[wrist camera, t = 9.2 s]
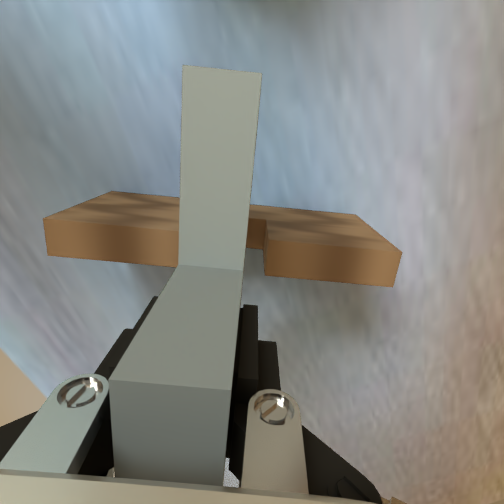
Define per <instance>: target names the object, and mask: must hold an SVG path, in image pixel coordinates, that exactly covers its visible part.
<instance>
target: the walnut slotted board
mask: <svg viewBox="0 0 504 504" xmlns="http://www.w3.org/2000/svg"><path fill="white" fill-rule="evenodd" d="M179 210H180V198H178V197H167V196H157V195H147V194H136V193H126V192H116V191H111V192H108V193H106V194H103V195H101V196H98V197H96V198H93V199H91V200H88V201H86V202H83V203H81V204H78V205H76V206H73V207H71V208H68V209H65V210H63V211H60V212H58V213H55V214H53V215H50V216H48V217H45V218H43V222H44V230H45V238H46V246H47V254H48V256H58V257H69V258H80V259H91V260H102V261H113V262H124V263H135V264H146V265H157V266H167V267H177V266H178V257H179ZM246 248H254V249H263V258H264V273H265V275H266V276H276V277H287V278H298V279H309V280H320V281H331V282H342V283H353V284H364V285H375V286H386V287H393V285H394V281H395V278H396V274H397V270H398V266H399V263H400V259H401V255H402V252H401V251H400V250H399V249H398V248H396V247H395V246H394V245H393V244H391V243H390V242H389V241H388V240H386V239H385V238H384V237H383V236H381V235H380V234H379V233H378V232H376V231H375V230H374V229H373V228H372V227H370V226H369V225H368V224H367V223H365V222H364V221H363V220H362V219H360V218H359V217H358V216H357V215H354V214H343V213H333V212H323V211H312V210H302V209H292V208H281V207H271V206H261V205H250V209H249V219H248V228H247V239H246Z"/></svg>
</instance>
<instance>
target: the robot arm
mask: <svg viewBox="0 0 504 504" xmlns="http://www.w3.org/2000/svg"><path fill="white" fill-rule="evenodd" d="M157 299H158V296H154V297H153V298H152V300H151V302H150V303H149V305H148V306H147V308H146V309H145V311H144V313H143V314H142V316H141V317H140V319H139V320H138V322H137V323H136V325H135V327H134V328H133V329H125V330H124V331H123V332H122V333H121V335H120V336H119V338H118V339H117V341H116V342H115V344H114V345H113V347H112V348H111V349H110V351H109V352H108V354H107V355H106V357H105V358H104V360H103V361H102V363H101V364H100V366H99V367H98V368H97V370H96V371H95V373H94V374H81V375H77V376H74V377H71V378H69V379H67V380H65V381H64V382H62V383H61V384H59V385H58V386H57V387H56V388H55V389H54V390H53V392H52V393H51V394H50V396H49V397H48V399H47V400H46V401H45V403H44V404H43V405H42V407H41V408H40V409H39V410H38V411H36V412H34V413H32V414H29V415H27V416H24V417H22V418H20V419H18V420H15V421H13V422H11V423H8V424H6V425H4V426H1V427H0V504H406V503H404V502H402V501H400V500H398V499H396V498H394V497H391V500H390V501H389V500H387V499H385V498H383V497H381V496H380V494H379V493H378V491H377V490H376V488H375V486H374V485H373V484H372V483H371V482H370V481H369V480H368V479H367V478H366V477H365V476H364V475H362V474H361V473H360V472H359V471H357V470H356V469H355V468H354V467H353V466H351V465H350V464H349V463H348V462H346V461H345V460H344V459H343V458H342V457H340V456H339V455H338V454H337V453H336V452H334V451H333V450H332V449H331V448H329V447H328V446H327V445H326V444H325V443H323V442H322V441H321V440H320V439H318V438H317V437H316V436H315V435H314V434H312V433H311V432H310V431H309V430H308V429H306V428H305V427H304V426H303V425H301V416H300V410H299V406H298V404H297V403H296V401H295V400H294V399H293V398H292V397H291V396H290V395H288V394H287V393H285V392H282V391H281V388H280V377H279V367H278V356H277V345H276V342H271V341H260V340H258V306H256V305H245V304H244V305H243V308H240V310H239V320H238V330H237V340H236V350H235V360H234V370H233V381H232V391H231V402H230V412H229V423H228V434H227V444H226V455H225V458H230V460H229V471H231V472H232V473H233V474H234V475H235V476H236V478H237V479H238V480H239V488H236V487H224V486H213V485H201V484H189V483H177V482H165V481H153V480H141V479H128V478H116V477H113V474H114V456H113V441H112V426H111V411H110V395H109V380H108V379H109V378H110V376H111V375H112V373H113V371H114V370H115V368H116V366H117V365H118V363H119V361H120V360H121V358H122V356H123V355H124V353H125V352H126V350H127V348H128V347H129V345H130V343H131V342H132V340H133V338H134V337H135V335H136V333H137V332H138V330H139V328H140V327H141V325H142V324H143V322H144V320H145V319H146V317H147V315H148V314H149V312H150V310H151V309H152V307H153V305H154V304H155V302H156V300H157Z"/></svg>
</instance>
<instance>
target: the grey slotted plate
mask: <svg viewBox="0 0 504 504" xmlns="http://www.w3.org/2000/svg"><path fill="white" fill-rule="evenodd" d="M261 79H262V73H254V72H245V71H235V70H226V69H217V68H207V67H198V66H188V65H183V68H182V115H181V162H180V210H179V257H178V266H177V268H176V269H175V271H174V272H173V274H172V276H171V277H170V279H169V281H168V282H167V284H166V286H165V287H164V289H163V291H162V292H161V294H160V296H159V297H158V299H157V300H156V302H155V304H154V305H153V307H152V309H151V310H150V312H149V314H148V315H147V317H146V319H145V320H144V322H143V324H142V325H141V327H140V328H139V330H138V332H137V333H136V335H135V337H134V338H133V340H132V342H131V343H130V345H129V347H128V348H127V350H126V352H125V353H124V355H123V356H122V358H121V360H120V361H119V363H118V365H117V366H116V368H115V370H114V371H113V373H112V375H111V376H110V378H109V379H108V380H109V395H110V411H111V426H112V441H113V456H114V472H115V477H116V478H128V479H141V480H153V481H165V482H177V483H189V484H201V485H213V486H223V480H224V470H225V460H226V458H225V455H226V444H227V434H228V423H229V412H230V402H231V391H232V381H233V370H234V360H235V350H236V340H237V330H238V320H239V310H240V304H241V293H242V281H243V271H244V260H245V250H246V239H247V228H248V219H249V209H250V198H251V188H252V177H253V166H254V156H255V145H256V135H257V124H258V114H259V103H260V91H261Z"/></svg>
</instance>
